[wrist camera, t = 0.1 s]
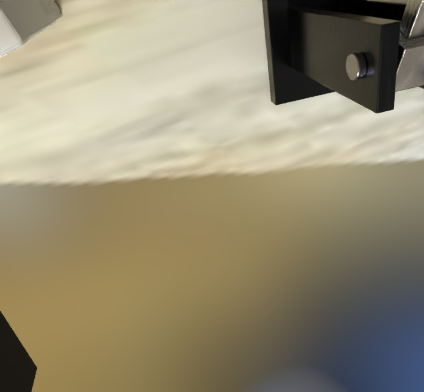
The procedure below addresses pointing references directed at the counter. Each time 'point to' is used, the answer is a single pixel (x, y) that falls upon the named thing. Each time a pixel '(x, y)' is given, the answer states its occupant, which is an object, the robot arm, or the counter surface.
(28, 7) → the white packaging box
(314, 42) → the switch bracket
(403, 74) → the switch
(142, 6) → the counter surface
